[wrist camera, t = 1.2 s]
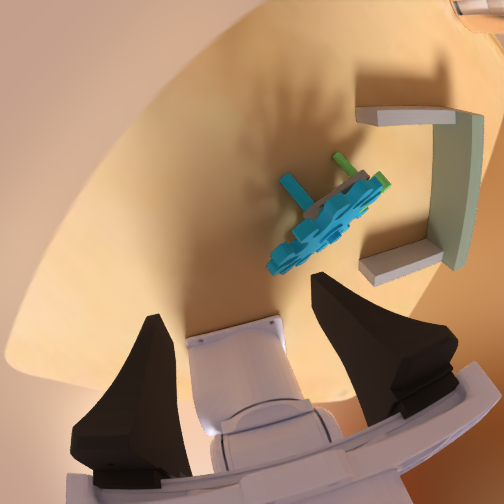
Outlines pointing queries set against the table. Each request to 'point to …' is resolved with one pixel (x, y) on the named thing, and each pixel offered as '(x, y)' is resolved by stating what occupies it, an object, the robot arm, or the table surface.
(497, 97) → the table surface
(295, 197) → the blue toy cog wheel
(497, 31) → the white cylindrical tube
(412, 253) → the green u-shaped bracket
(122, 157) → the table surface
